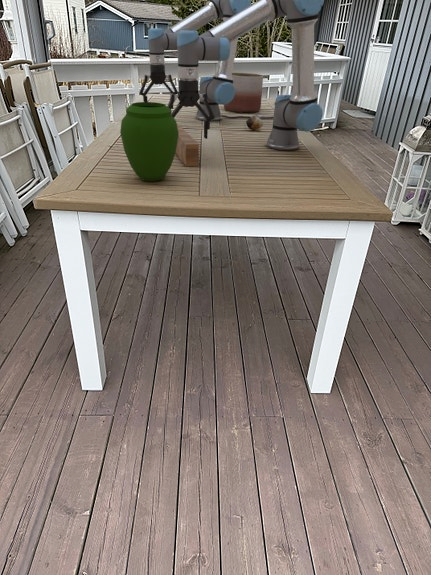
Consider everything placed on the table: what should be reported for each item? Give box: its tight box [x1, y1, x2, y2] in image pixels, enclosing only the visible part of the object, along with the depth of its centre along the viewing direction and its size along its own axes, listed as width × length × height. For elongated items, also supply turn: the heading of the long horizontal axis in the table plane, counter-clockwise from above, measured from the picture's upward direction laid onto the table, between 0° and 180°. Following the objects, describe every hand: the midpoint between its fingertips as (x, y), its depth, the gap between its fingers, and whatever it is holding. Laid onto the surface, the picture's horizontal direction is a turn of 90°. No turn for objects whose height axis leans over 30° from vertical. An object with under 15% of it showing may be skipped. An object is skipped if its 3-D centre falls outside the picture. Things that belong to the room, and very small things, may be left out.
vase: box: [119, 101, 179, 182], centre depth 140 cm, size 20×20×24 cm
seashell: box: [245, 114, 264, 131], centre depth 224 cm, size 10×6×8 cm, turn 97°
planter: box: [223, 72, 264, 114], centre depth 276 cm, size 25×25×22 cm
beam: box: [175, 123, 200, 167], centre depth 194 cm, size 84×5×8 cm, turn 16°
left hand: (159, 109), depth 220 cm, fingers open, 13 cm apart
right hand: (189, 138), depth 163 cm, fingers open, 13 cm apart
